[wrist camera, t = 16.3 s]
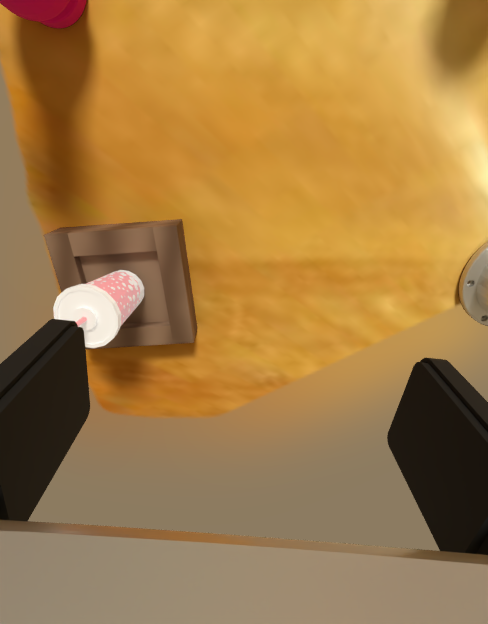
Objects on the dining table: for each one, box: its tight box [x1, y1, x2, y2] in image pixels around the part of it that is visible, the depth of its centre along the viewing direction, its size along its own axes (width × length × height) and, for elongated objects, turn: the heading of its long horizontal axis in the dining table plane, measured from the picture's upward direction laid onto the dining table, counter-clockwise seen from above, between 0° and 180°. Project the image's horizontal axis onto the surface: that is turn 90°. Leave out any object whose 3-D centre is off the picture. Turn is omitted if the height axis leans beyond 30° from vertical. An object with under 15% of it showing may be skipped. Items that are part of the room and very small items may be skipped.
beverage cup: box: [53, 270, 144, 348], centre depth 34 cm, size 6×6×14 cm
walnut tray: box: [44, 219, 197, 349], centre depth 41 cm, size 14×14×4 cm
